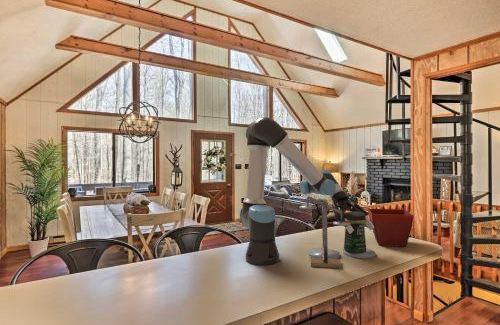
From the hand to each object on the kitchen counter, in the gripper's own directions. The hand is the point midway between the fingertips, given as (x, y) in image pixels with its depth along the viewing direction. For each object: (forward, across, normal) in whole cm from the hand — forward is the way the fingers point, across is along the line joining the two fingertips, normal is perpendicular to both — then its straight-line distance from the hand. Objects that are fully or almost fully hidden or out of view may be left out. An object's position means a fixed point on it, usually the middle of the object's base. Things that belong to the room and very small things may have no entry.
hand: (362, 230), depth 130 cm
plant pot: (+3, -29, -13) cm, 32 cm away
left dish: (+2, +15, -14) cm, 21 cm away
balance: (+9, +24, -7) cm, 26 cm away
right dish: (+6, 0, -10) cm, 12 cm away
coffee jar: (+5, +2, -9) cm, 11 cm away
